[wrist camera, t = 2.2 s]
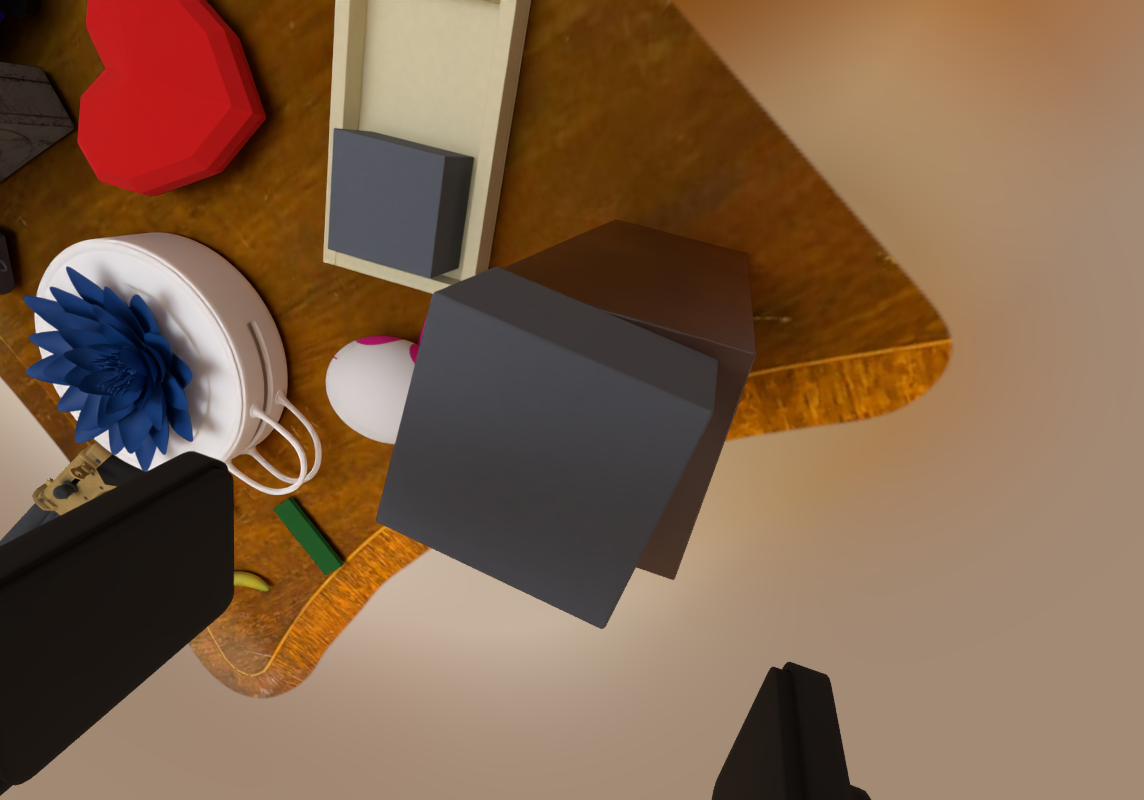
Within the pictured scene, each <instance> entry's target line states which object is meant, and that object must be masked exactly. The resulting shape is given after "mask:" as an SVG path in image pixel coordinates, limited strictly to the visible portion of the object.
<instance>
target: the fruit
mask: <svg viewBox="0 0 1144 800" xmlns="http://www.w3.org/2000/svg"><path fill="white" fill-rule="evenodd" d="M234 585H239V586H247V587H251V588H255V589H259V590H263V591H269V590H270V587H269V586H268V584H267V583H266V582H265V581H264V580H262V579H261V578H260V577H258V576H256V575H254V574H252V573H248V572H243V571H234Z"/></svg>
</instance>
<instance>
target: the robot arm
mask: <svg viewBox="0 0 1144 800" xmlns="http://www.w3.org/2000/svg"><path fill="white" fill-rule="evenodd" d="M233 595H234V503H233V477H232V475H231V474H230V473H229V472H228V467H227V465H226V464H225V463H224V462H222V461H220V460H218V459H215V458H212V457H209V456H206V455H203V454H201V453H198V452H195V451H188V452H185V453H182V454H180V455H178V456H176V457H174V458H172V459H170V460H168V461H166V462H164V463H162V464H160V465H159V466H157V467H155V468H153V469H151V470H149V471H147V472H145V473H143V474H141V475H139V476H137V477H135V478H133V479H131V480H129V481H127V482H125V483H123V484H121V485H119V486H117V487H115V488H113V489H111V490H109V491H108V492H106V493H104V494H102V495H100V496H98V497H96V498H94V499H92V500H90V501H88V502H86V503H84V504H82V505H80V506H78V507H76V508H74V509H72V510H70V511H68V512H66V513H64V514H62V515H60V516H58V517H57V518H55V519H53V520H51V521H49V522H47V523H45V524H43V525H41V526H39V527H37V528H35V529H33V530H31V531H29V532H27V533H25V534H23V535H21V536H19V537H17V538H15V539H13V540H11V541H9V542H7V543H6V544H4V545H2V546H0V795H2V794H3V793H4V792H5V791H7V790H8V789H9V788H10V787H11V786H12V785H19V784H22V783H24V782H26V781H28V780H29V779H31V778H32V777H33V776H35V775H36V774H37V773H38V772H39V771H41V770H42V769H43V768H44V767H45V766H46V765H48V764H49V763H50V762H51V761H52V760H53V759H55V758H56V757H57V756H58V755H59V754H60V753H62V752H63V751H64V750H65V749H66V748H67V747H68V746H69V745H71V744H72V743H73V742H74V741H75V740H77V739H78V738H79V737H80V736H81V735H82V734H83V733H85V732H86V731H87V730H88V729H89V728H90V727H92V726H93V725H94V724H95V723H96V722H97V721H99V720H100V719H101V718H102V717H103V716H104V715H106V714H107V713H108V712H109V711H110V710H111V709H112V708H113V707H115V706H116V705H117V704H118V703H119V702H120V701H122V700H123V699H124V698H125V697H126V696H128V695H129V694H130V693H131V692H132V691H133V690H134V689H136V688H137V687H138V686H139V685H140V684H141V683H143V682H144V681H145V680H146V679H147V678H148V677H149V676H151V675H152V674H153V673H154V672H155V671H156V670H157V669H159V668H160V667H161V666H162V665H163V664H165V663H166V662H167V661H168V660H169V659H170V658H172V656H174V655H175V654H176V653H177V652H179V651H180V650H181V649H182V648H183V647H184V646H185V645H186V644H188V643H189V642H190V641H191V640H192V639H194V638H195V637H196V636H197V635H198V634H199V633H201V632H202V631H203V630H204V629H205V628H206V627H207V626H209V625H210V624H211V623H212V622H213V621H214V620H216V619H217V618H218V617H219V616H220V615H221V614H222V613H223V612H224V611H225V610H226V609H227V608H228V606H229V605H230V603H231V601H232V598H233ZM712 800H871V799H870V797H869V796H868V794H867V793H866V791H864V790H862V789H860V788H858V787H855V786H852V785H850V782H849V777H848V771H847V766H846V761H845V755H844V750H843V745H842V739H841V734H840V729H839V724H838V718H837V713H836V708H835V703H834V697H833V692H832V687H831V682H830V679H829V677H828V676H827V675H826V674H823V673H820V672H817V671H814V670H812V669H808V668H806V667H803V666H800V665H797V664H795V663H792V662H787V663H786V664H785V665H784V667H783V669H779V668H776V667H772V668H770V670H769V672H768V673H767V676H766V678H765V680H764V682H763V684H762V686H761V688H760V690H759V692H758V694H757V697H756V699H755V701H754V703H753V705H752V707H751V709H750V711H749V713H748V716H747V718H746V719H745V722H744V724H743V726H742V728H741V730H740V732H739V734H738V736H737V738H736V740H735V743H734V745H733V747H732V749H731V751H730V753H729V755H728V757H727V759H726V761H725V763H724V766H723V768H722V770H721V772H720V774H719V776H718V778H717V781H716V783H715V787H714V790H713V796H712Z"/></svg>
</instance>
